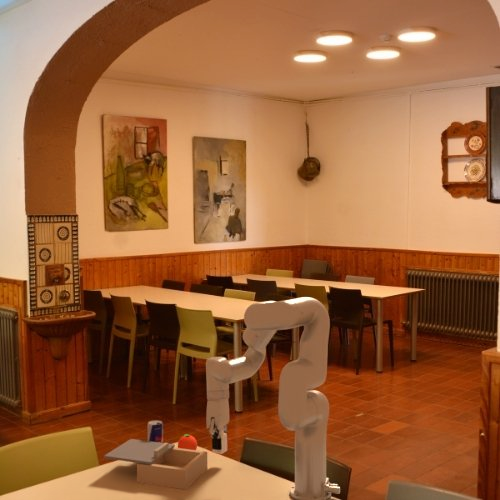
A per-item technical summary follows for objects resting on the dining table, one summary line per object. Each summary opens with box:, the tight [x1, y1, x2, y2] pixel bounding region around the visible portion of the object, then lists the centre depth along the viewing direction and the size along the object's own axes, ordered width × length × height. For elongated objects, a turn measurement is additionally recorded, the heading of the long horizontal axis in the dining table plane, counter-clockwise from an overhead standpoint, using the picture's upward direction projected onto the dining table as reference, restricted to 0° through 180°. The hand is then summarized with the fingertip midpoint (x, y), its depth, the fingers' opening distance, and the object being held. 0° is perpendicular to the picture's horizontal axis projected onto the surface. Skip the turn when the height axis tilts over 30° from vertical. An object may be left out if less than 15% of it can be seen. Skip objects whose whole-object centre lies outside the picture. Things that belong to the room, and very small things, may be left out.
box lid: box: [103, 438, 176, 465], centre depth 217 cm, size 17×17×3 cm
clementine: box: [177, 433, 198, 450], centre depth 233 cm, size 8×7×7 cm
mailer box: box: [136, 447, 208, 490], centre depth 214 cm, size 17×17×6 cm
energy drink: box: [146, 419, 164, 443], centre depth 231 cm, size 5×5×12 cm
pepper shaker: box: [212, 427, 228, 455], centre depth 222 cm, size 4×4×10 cm
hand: (219, 446), depth 223 cm, fingers closed on pepper shaker, 4 cm apart
